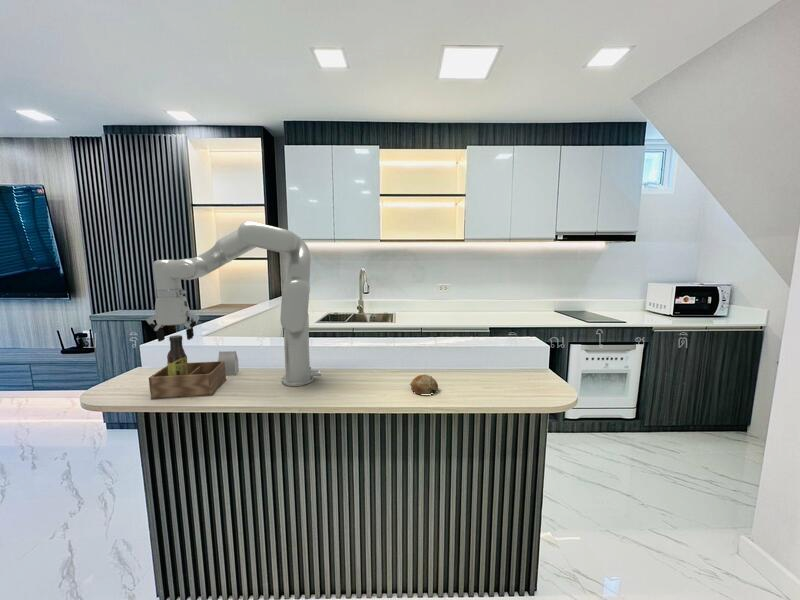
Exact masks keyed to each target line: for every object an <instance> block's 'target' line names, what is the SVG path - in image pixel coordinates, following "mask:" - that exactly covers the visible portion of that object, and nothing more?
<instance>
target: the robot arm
mask: <svg viewBox="0 0 800 600" xmlns="http://www.w3.org/2000/svg"><path fill="white" fill-rule="evenodd" d="M255 248H260V249H264V250H267V251H268V250H269V251H272V252H277V253H280V254H286V256H287V272H286V274H287V275H286V282H284V285H283V287H282V290H281V304H280V306H281V307H280V325H281V327H282V328H283V341H284V342H283V344H284V345H283V346H284V368H285V375H284V376H283V377H282V379H281V383H282V384H283V385H284V386H288V387H299V386H305V384H306V385H308V384H311V383H312V382H313V381H314V380H315V377H321V376H322V371H320V370H319V369H314V370H313V369H312V366H311V365H310V364H311V363H310V332H309V331H310V329H309V328H310V326H309V323H310V319H309V303H310V302H309V301H310V292H311V286H310V279H311V278H310V277H311V252H310V249H309V247H308V245H307V243H306V242H305V241H304V239H302V237H300V236H299V235H297V234H295V233H294V232H292V231H290V229H289V230H288V229H285V228H282V227H281V228H280V227H277V226H273V225H268V224H263V223H259V222H258V221H252V220H247V221H244V222H242V223H241V224H239V227H238V228H237V229H236V230H233V231H232V232H231V233H228V234H226V235H225V236H223V237H221V238H219V239H218V240H217V241H216V242H215V244H214V245H213V246H211V248H209V249H208V250H206V251H205V252H202V254H199V255H197V256H195V257H190V258H182V259H181V258H180V259H157V260H155V261H154V262H153V272H154V279H155V286H156V288H155V289H156V295H157V298H156V299H155V305H154V313H155V314H153V315H152V316H150V317H148V318H146V319H145V321H146V322H147V324H148V325H149V327H150V328H152V329H153V331H154V332H155V334H156V338H157V341H158V342H162V341H164V340H165V339H166V338H165V331H164V329H163V327H165V326H180V325H183V326H184V327H185V328H186V330H185V333H186V340H189V341H190V340H192V339H194V328H195V326H196V325H197V324H198V321H199V319H200V315H198V314H195V313H192V312H191V310H190V307H189V302H188V300H187V297H186V296H185V295H186V294H187V290H185V289H183V287H182V280H184V281H185V280H186V281H191V280H194V279H199V278H202V277H205V276H207V275H209V274H210V273H212V272H214V271H216V270H217V269H219V268H221V267H223V266H224V265H226V264H229V263H230V262H232V261H234V260H235V259H237V258H239V257H241V256H243V255H245V254H246V253H248V252H250V251H252V250H253V249H255ZM192 319H193V320H192ZM154 320H155V321H156V322H155V321H154ZM191 321H192V322H191Z"/></svg>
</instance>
